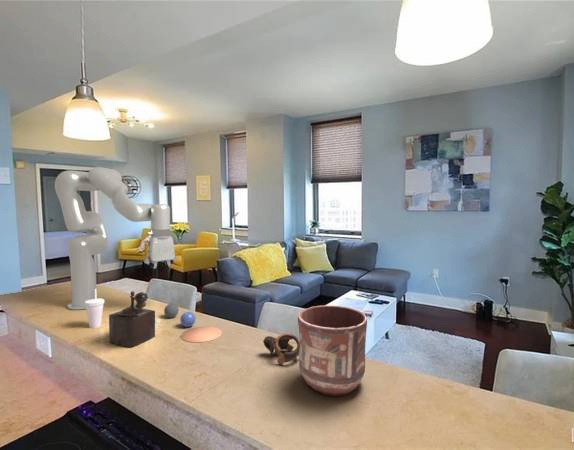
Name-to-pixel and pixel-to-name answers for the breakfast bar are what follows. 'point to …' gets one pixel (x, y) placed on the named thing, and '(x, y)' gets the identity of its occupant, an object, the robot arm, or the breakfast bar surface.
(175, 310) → the gray ball
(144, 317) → the brown coffee grinder
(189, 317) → the object ball
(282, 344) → the brown curved piece
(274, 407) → the breakfast bar surface
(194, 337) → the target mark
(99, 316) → the smoothie
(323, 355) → the pottery
